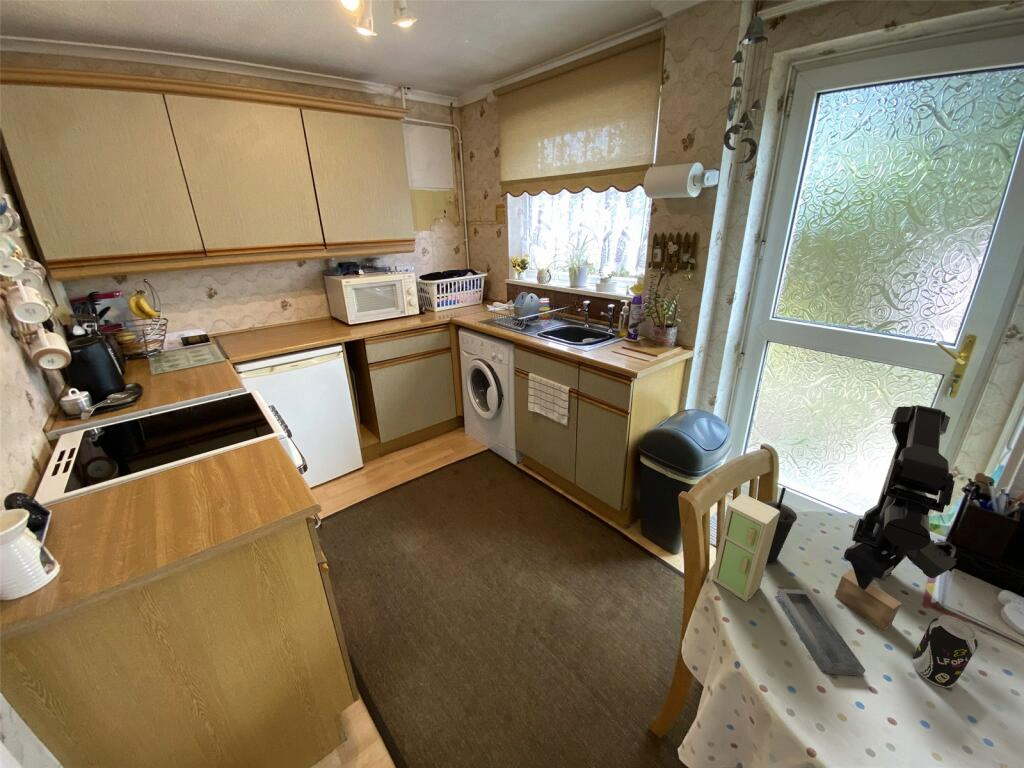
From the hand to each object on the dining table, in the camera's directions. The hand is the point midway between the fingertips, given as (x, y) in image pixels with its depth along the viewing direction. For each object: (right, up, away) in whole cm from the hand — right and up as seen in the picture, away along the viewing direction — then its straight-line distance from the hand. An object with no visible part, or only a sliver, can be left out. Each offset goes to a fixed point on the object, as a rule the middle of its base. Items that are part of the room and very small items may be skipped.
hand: (874, 579), depth 83 cm
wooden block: (0, -8, +3) cm, 8 cm away
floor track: (-13, -10, -2) cm, 17 cm away
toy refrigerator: (-24, -6, +9) cm, 26 cm away
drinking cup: (-12, -3, +17) cm, 21 cm away
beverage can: (+2, -13, -9) cm, 16 cm away
